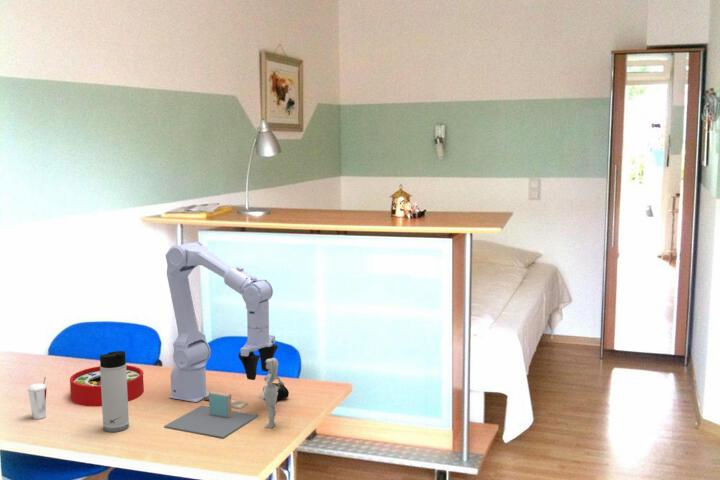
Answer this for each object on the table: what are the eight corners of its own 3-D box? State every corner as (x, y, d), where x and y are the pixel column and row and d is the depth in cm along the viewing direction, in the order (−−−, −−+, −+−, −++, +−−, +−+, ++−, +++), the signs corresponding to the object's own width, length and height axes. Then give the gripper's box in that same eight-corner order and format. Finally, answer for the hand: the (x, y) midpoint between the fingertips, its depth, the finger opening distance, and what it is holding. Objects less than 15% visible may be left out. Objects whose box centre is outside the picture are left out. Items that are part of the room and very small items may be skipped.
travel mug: (115, 434, 188) (111, 356, 185) (97, 429, 191) (94, 352, 189) (135, 426, 193) (131, 350, 190) (117, 421, 197) (114, 346, 194)
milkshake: (54, 414, 202) (52, 378, 200) (39, 421, 197) (37, 384, 195) (40, 412, 203) (38, 376, 202) (26, 419, 198) (23, 382, 197)
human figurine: (276, 417, 199) (274, 351, 196) (289, 419, 198) (288, 352, 195) (254, 434, 188) (253, 364, 185) (268, 436, 186) (267, 366, 184)
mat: (164, 427, 192) (164, 425, 192) (201, 406, 207) (201, 405, 207) (223, 438, 185) (223, 437, 185) (257, 416, 200) (257, 415, 200)
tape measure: (289, 401, 212) (289, 388, 211) (265, 403, 210) (265, 390, 209) (284, 393, 218) (284, 380, 218) (260, 395, 216) (260, 383, 216)
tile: (209, 414, 200) (208, 393, 199) (212, 412, 201) (211, 391, 201) (228, 418, 197) (227, 396, 197) (231, 416, 199) (231, 394, 198)
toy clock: (56, 385, 208) (89, 363, 227) (57, 406, 209) (90, 382, 228) (126, 387, 206) (153, 365, 226) (127, 408, 207) (154, 384, 226)
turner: (200, 402, 211) (200, 398, 210) (208, 397, 214) (208, 394, 214) (239, 408, 205) (239, 405, 205) (247, 404, 209) (247, 400, 209)
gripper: (256, 334, 193) (257, 385, 195) (284, 321, 206) (284, 369, 208) (233, 331, 196) (234, 381, 198) (262, 318, 209) (262, 366, 211)
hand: (258, 375), depth 203 cm, fingers open, 7 cm apart
